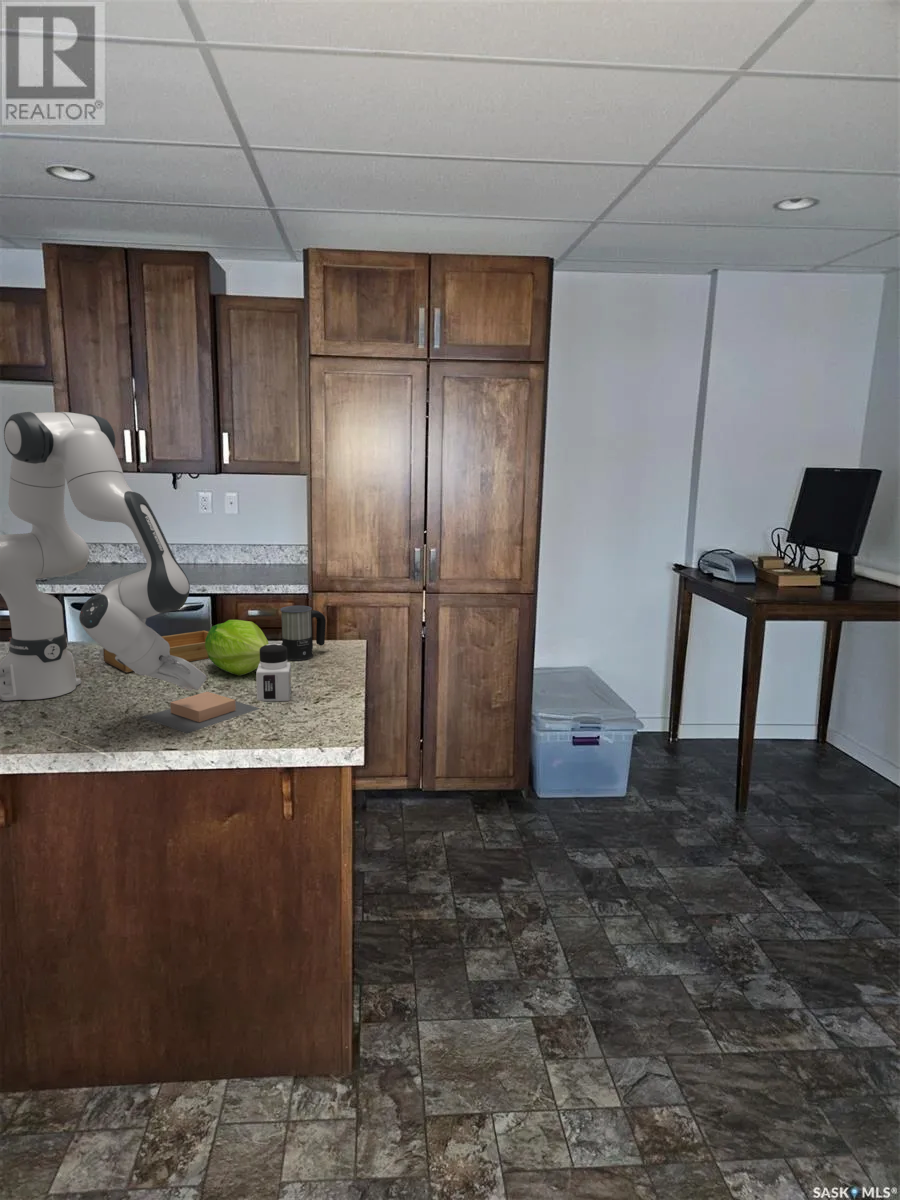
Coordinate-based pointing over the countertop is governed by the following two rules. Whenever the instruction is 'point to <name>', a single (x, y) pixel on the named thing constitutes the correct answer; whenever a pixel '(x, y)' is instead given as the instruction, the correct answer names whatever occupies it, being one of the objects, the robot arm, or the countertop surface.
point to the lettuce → (235, 646)
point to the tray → (173, 648)
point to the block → (202, 706)
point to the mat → (191, 725)
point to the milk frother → (301, 631)
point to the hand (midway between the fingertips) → (188, 687)
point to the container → (273, 674)
